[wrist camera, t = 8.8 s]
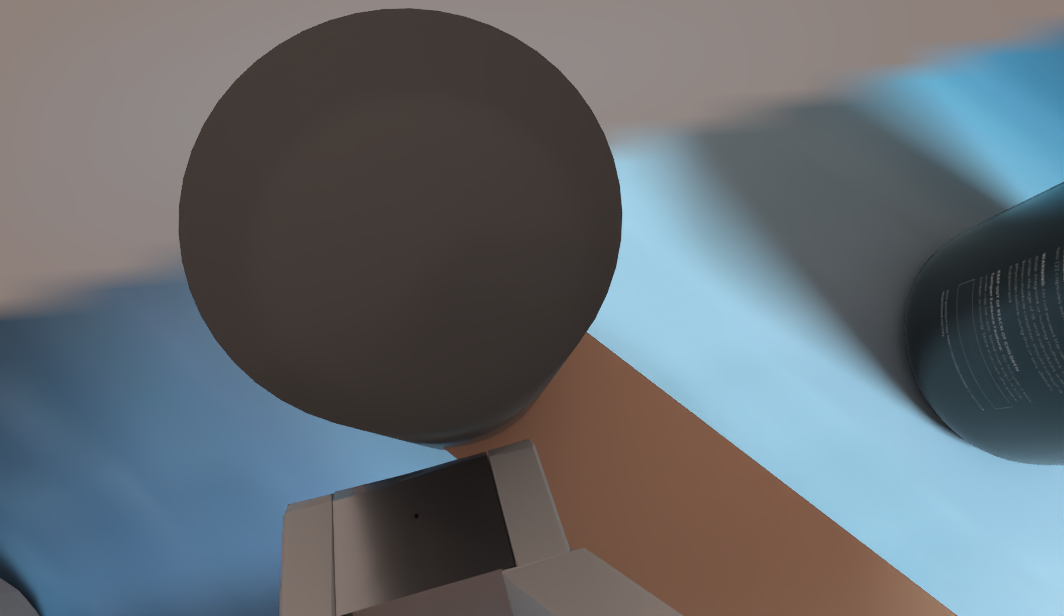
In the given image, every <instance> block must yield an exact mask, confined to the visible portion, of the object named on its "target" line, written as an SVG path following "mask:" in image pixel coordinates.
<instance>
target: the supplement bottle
mask: <svg viewBox="0 0 1064 616" xmlns="http://www.w3.org/2000/svg"><path fill="white" fill-rule="evenodd" d="M905 344H906V351H907V356H908V360H909V363H910V367H911V370H912V373H913V375H914V378H915V380H916V382H917V384H918V386H919V388H920V391H921V392H922V394H923V395H924V397H925V399H926V400H927V402H928V403H929V405H930V406H931V407H932V409H933V410H934V411H935V413H936V414H937V415H938V416H939V417H940V418H941V420H942V421H943V422H944V423H945V424H946V425H947V426H949V427H950V428H951V429H952V430H953V431H954V432H955V433H957V434H958V435H959V436H960V437H962V438H963V439H965V440H966V441H968V442H969V443H971V444H972V445H974V446H976V447H978V448H980V449H981V450H983V451H985V452H988V453H990V454H992V455H995V456H997V457H1000V458H1003V459H1007V460H1010V461H1015V462H1020V463H1027V464H1037V465H1064V182H1062V183H1060V184H1058V185H1056V186H1054V187H1052V188H1050V189H1048V190H1046V191H1044V192H1042V193H1040V194H1038V195H1036V196H1034V197H1032V198H1030V199H1028V200H1026V201H1024V202H1022V203H1020V204H1018V205H1016V206H1014V207H1012V208H1010V209H1008V210H1006V211H1004V212H1002V213H1000V214H998V215H996V216H994V217H992V218H990V219H988V220H986V221H984V222H982V223H980V224H978V225H976V226H974V227H973V228H971V229H969V230H967V231H965V232H963V233H961V234H959V235H958V236H956V237H955V238H953V239H952V240H950V241H949V242H947V243H946V244H945V245H943V246H942V247H941V248H940V249H939V250H938V251H936V253H935V254H934V255H933V256H932V257H931V258H930V259H929V260H928V262H927V263H926V264H925V266H924V267H923V269H922V270H921V272H920V273H919V275H918V277H917V279H916V281H915V283H914V285H913V287H912V290H911V293H910V296H909V299H908V303H907V308H906V315H905Z"/></svg>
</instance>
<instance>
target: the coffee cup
mask: <svg viewBox="0 0 1064 616" xmlns="http://www.w3.org/2000/svg"><path fill="white" fill-rule="evenodd" d="M0 616H40V615H39V614H38V613H37V611H36V610H35V609H34V608H33V606H32V605H31V604H30V603H29V601H28V600H27V599H26V598H25V597H24V596H23V595H22V594H21V592H20V591H19V590H17V589H16V588H14V587H13V586H11V585H10V584H8V583H7V582H6V581H4V580H3V579H1V578H0Z"/></svg>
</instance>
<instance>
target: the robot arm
mask: <svg viewBox="0 0 1064 616" xmlns="http://www.w3.org/2000/svg"><path fill="white" fill-rule="evenodd" d="M487 452H488V457H487V454H486V452H482V453H479V454H475V455H472V456H468V457H465V458H461V459H458V460H454V461H451V462H447V463H444V464H440V465H436V466H433V467H429V468H426V469H422V470H419V471H415V472H412V473H408V474H405V475H401V476H397V477H393V478H389V479H385V480H381V481H377V482H373V483H369V484H365V485H361V486H357V487H353V488H349V489H345V490H341V491H337V492H335V493H334V494H330V495H326V496H321V497H317V498H313V499H309V500H305V501H301V502H297V503H292V504H288V507H287V509H286V512H285V514H284V517H283V536H282V559H281V583H280V606H279V616H683V615H682V614H680V613H679V612H677V611H676V610H674V609H673V608H672V607H670V606H669V605H667V604H666V603H664V602H663V601H661V600H660V599H658V598H657V597H655V596H654V595H653V594H651V593H650V592H648V591H647V590H645V589H644V588H642V587H641V586H639V585H638V584H637V583H635V582H634V581H632V580H631V579H629V578H628V577H626V576H625V575H623V574H622V573H621V572H619V571H618V570H616V569H615V568H613V567H612V566H610V565H609V564H607V563H606V562H605V561H603V560H602V559H600V558H599V557H597V556H596V555H594V554H593V553H591V552H590V551H589V550H587V549H586V548H581V549H577V550H573V551H570V548H569V545H568V542H567V539H566V536H565V533H564V530H563V527H562V524H561V521H560V518H559V515H558V512H557V509H556V506H555V503H554V500H553V498H552V495H551V492H550V489H549V486H548V483H547V480H546V477H545V474H544V471H543V468H542V465H541V462H540V459H539V456H538V453H537V450H536V447H535V444H534V443H533V442H532V441H531V440H530V439H526V440H523V441H519V442H516V443H512V444H509V445H505V446H502V447H499V448H495V449H492V450H488V451H487ZM488 460H489V461H488ZM490 467H491V468H490ZM491 471H492V472H491Z"/></svg>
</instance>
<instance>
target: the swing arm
mask: <svg viewBox="0 0 1064 616" xmlns="http://www.w3.org/2000/svg"><path fill="white" fill-rule="evenodd" d="M621 228H622V205H621V194H620V184H619V180H618V176H617V171H616V167H615V162H614V159H613V156H612V153H611V150H610V148H609V145H608V142H607V140H606V137H605V134H604V132H603V131H602V129H601V127H600V125H599V123H598V121H597V119H596V117H595V115H594V114H593V112H592V110H591V109H590V107H589V106H588V104H587V103H586V102H585V100H584V99H583V97H582V96H581V95H580V93H579V92H578V90H577V89H576V88H575V87H574V86H573V85H572V84H571V82H570V81H569V80H568V79H567V78H566V77H565V76H564V75H563V74H562V73H561V72H560V71H559V70H558V69H557V68H556V67H555V66H554V65H553V64H551V63H550V62H549V61H548V60H547V59H546V58H544V57H543V56H542V55H541V54H539V53H538V52H537V51H535V50H534V49H532V48H531V47H529V46H527V45H526V44H524V43H523V42H521V41H520V40H518V39H517V38H515V37H513V36H511V35H509V34H507V33H505V32H503V31H501V30H499V29H497V28H495V27H493V26H490V25H488V24H485V23H481V22H479V21H476V20H473V19H470V18H467V17H464V16H459V15H455V14H450V13H445V12H441V11H433V10H422V9H411V8H410V9H381V10H375V11H368V12H361V13H355V14H351V15H348V16H344V17H340V18H337V19H333V20H330V21H327V22H324V23H322V24H319V25H317V26H315V27H312V28H310V29H307V30H305V31H302V32H301V33H299V34H297V35H295V36H293V37H292V38H290V39H288V40H286V41H285V42H283V43H281V44H279V45H278V46H276V47H275V48H273V49H272V50H271V51H269V52H268V53H267V54H265V55H264V56H262V57H261V58H260V59H258V60H257V61H256V62H255V63H254V64H253V65H252V66H250V68H248V69H247V70H246V71H245V72H244V73H243V74H242V75H241V76H240V77H239V78H238V79H237V80H236V81H235V82H234V83H233V84H232V85H231V87H230V88H229V89H228V90H227V92H226V93H225V94H224V95H223V96H222V98H221V99H220V100H219V101H218V103H217V104H216V106H215V108H214V109H213V111H212V112H211V114H210V115H209V117H208V119H207V120H206V122H205V123H204V125H203V127H202V129H201V132H200V134H199V136H198V138H197V140H196V142H195V145H194V147H193V149H192V151H191V155H190V158H189V162H188V165H187V168H186V171H185V175H184V178H183V185H182V191H181V197H180V204H179V240H180V248H181V256H182V263H183V266H184V270H185V274H186V277H187V281H188V285H189V289H190V291H191V293H192V296H193V298H194V300H195V303H196V305H197V307H198V310H199V312H200V314H201V316H202V318H203V320H204V321H205V323H206V325H207V326H208V328H209V330H210V331H211V333H212V334H213V336H214V338H215V339H216V341H217V342H218V343H219V344H220V346H221V347H222V348H223V349H224V351H225V352H226V353H227V354H228V355H229V357H230V358H231V359H232V360H233V362H234V363H235V364H236V365H238V366H239V367H240V368H241V369H242V370H243V371H244V372H245V373H246V374H247V375H248V376H249V377H251V378H252V379H253V380H254V381H255V382H256V383H257V384H259V385H260V386H262V387H263V388H265V389H266V390H267V391H269V392H270V393H272V394H273V395H275V396H276V397H277V398H279V399H280V400H282V401H284V402H286V403H288V404H290V405H292V406H294V407H296V408H298V409H300V410H302V411H304V412H306V413H308V414H311V415H314V416H317V417H319V418H322V419H325V420H328V421H331V422H334V423H337V424H341V425H345V426H349V427H352V428H356V429H360V430H364V431H368V432H372V433H376V434H380V435H384V436H388V437H391V438H395V439H399V440H403V441H407V442H411V443H415V444H419V445H423V446H427V447H431V448H436V449H441V450H447V451H448V452H449V453H451V454H452V455H453V456H454V457H456V458H457V459H461V458H465V457H468V456H472V455H475V454H479V453H482V452H486V454H487V457H488V452H487V451H488V450H492V449H495V448H499V447H502V446H505V445H509V444H512V443H516V442H519V441H523V440H526V439H530V440H531V441H532V442H533V443H534V444H535V447H536V450H537V453H538V456H539V459H540V462H541V465H542V468H543V471H544V474H545V477H546V480H547V483H548V486H549V489H550V492H551V495H552V498H553V500H554V503H555V506H556V509H557V512H558V515H559V518H560V521H561V524H562V527H563V530H564V533H565V536H566V539H567V542H568V545H569V548H570V549H572V550H577V549H581V548H586V549H587V550H589V551H590V552H591V553H593V554H594V555H596V556H597V557H599V558H600V559H602V560H603V561H605V562H606V563H607V564H609V565H610V566H612V567H613V568H615V569H616V570H618V571H619V572H621V573H622V574H623V575H625V576H626V577H628V578H629V579H631V580H632V581H634V582H635V583H637V584H638V585H639V586H641V587H642V588H644V589H645V590H647V591H648V592H650V593H651V594H653V595H654V596H655V597H657V598H658V599H660V600H661V601H663V602H664V603H666V604H667V605H669V606H670V607H672V608H673V609H674V610H676V611H677V612H679V613H680V614H682V615H683V616H957V615H956V614H955V613H953V612H952V611H951V610H949V609H948V608H947V607H945V606H944V605H943V604H941V603H940V602H939V601H938V600H936V599H935V598H934V597H932V596H931V595H930V594H928V593H927V592H926V591H924V590H923V589H922V588H921V587H919V586H918V585H917V584H915V583H914V582H913V581H911V580H910V579H909V578H907V577H906V576H905V575H904V574H902V573H901V572H900V571H898V570H897V569H896V568H894V567H893V566H892V565H890V564H889V563H888V562H887V561H885V560H884V559H883V558H881V557H880V556H879V555H877V554H876V553H875V552H873V551H872V550H871V549H870V548H868V547H867V546H866V545H864V544H863V543H862V542H860V541H859V540H858V539H856V538H855V537H854V536H853V535H851V534H850V533H849V532H847V531H846V530H845V529H843V528H842V527H841V526H839V525H838V524H837V523H836V522H834V521H833V520H832V519H830V518H829V517H828V516H826V515H825V514H824V513H822V512H821V511H820V510H819V509H817V508H816V507H815V506H813V505H812V504H811V503H809V502H808V501H807V500H805V499H804V498H803V497H802V496H800V495H799V494H798V493H796V492H795V491H794V490H792V489H791V488H790V487H788V486H787V485H786V484H785V483H783V482H782V481H781V480H779V479H778V478H777V477H775V476H774V475H773V474H771V473H770V472H769V471H768V470H766V469H765V468H764V467H762V466H761V465H760V464H758V463H757V462H756V461H754V460H753V459H752V458H751V457H749V456H748V455H747V454H745V453H744V452H743V451H741V450H740V449H739V448H737V447H736V446H735V445H734V444H732V443H731V442H730V441H728V440H727V439H726V438H724V437H723V436H722V435H720V434H719V433H718V432H717V431H715V430H714V429H713V428H711V427H710V426H709V425H707V424H706V423H705V422H703V421H702V420H701V419H700V418H698V417H697V416H696V415H694V414H693V413H692V412H690V411H689V410H688V409H686V408H685V407H684V406H683V405H681V404H680V403H679V402H677V401H676V400H675V399H673V398H672V397H671V396H669V395H668V394H667V393H666V392H664V391H663V390H662V389H660V388H659V387H658V386H656V385H655V384H654V383H652V382H651V381H650V380H649V379H647V378H646V377H645V376H643V375H642V374H641V373H639V372H638V371H637V370H635V369H634V368H633V367H632V366H630V365H629V364H628V363H626V362H625V361H624V360H622V359H621V358H620V357H618V356H617V355H616V354H615V353H613V352H612V351H611V350H609V349H608V348H607V347H605V346H604V345H603V344H601V343H600V342H599V341H598V340H596V339H595V338H594V337H592V336H591V335H590V334H588V333H587V330H588V329H589V327H590V326H591V324H592V323H593V321H594V320H595V318H596V316H597V314H598V312H599V310H600V308H601V305H602V303H603V301H604V299H605V297H606V295H607V293H608V290H609V287H610V284H611V281H612V278H613V275H614V272H615V269H616V264H617V259H618V253H619V248H620V242H621ZM488 461H489V460H488ZM490 468H491V467H490ZM491 472H492V471H491Z"/></svg>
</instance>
